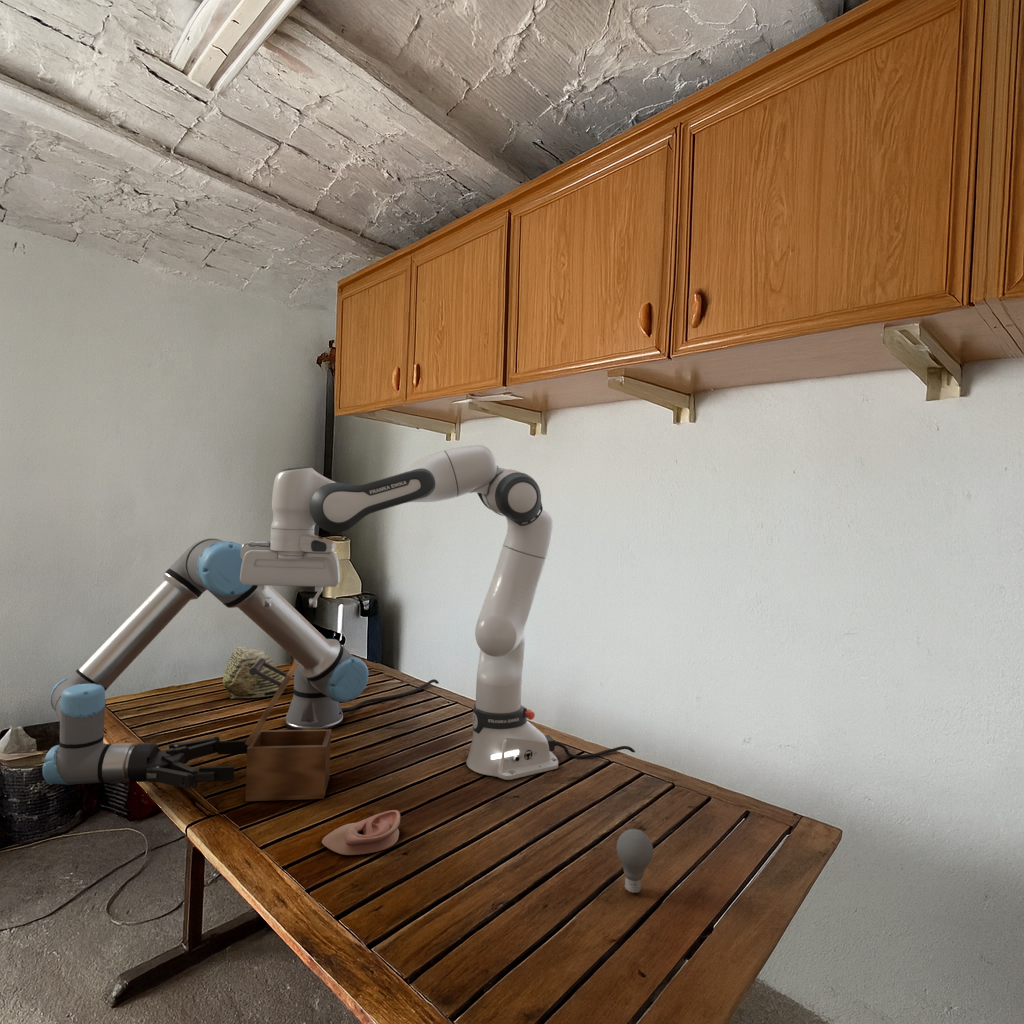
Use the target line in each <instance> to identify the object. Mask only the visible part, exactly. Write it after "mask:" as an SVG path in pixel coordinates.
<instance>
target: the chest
mask: <svg viewBox="0 0 1024 1024" xmlns="http://www.w3.org/2000/svg"><path fill="white" fill-rule="evenodd" d="M331 743H332V729H316V730H292V729H269V730H268V729H263V730H261V729H260V731H259V732H258V734H257V736H256V737H255V739H254V741H253V742H252V744H251V746H249V747H248V748H247V754H246V774H245V799H244V801H245V802H265V801H266V802H268V801H269V802H271V801H295V800H297V801H298V800H324V799H325V798H326V797H325V796H326V792H327V788H328V784H329V781H330V775H331V774H330V772H331V771H330V770H331V748H332V744H331Z"/></svg>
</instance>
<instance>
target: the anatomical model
mask: <svg viewBox="0 0 1024 1024" xmlns="http://www.w3.org/2000/svg"><path fill="white" fill-rule="evenodd" d="M400 823H401V813H400V811H399V810H397V809H392V810H391V809H390V810H387V811H383V812H380V813H377V814H373V815H371V816H369V817H367V818H365V819H362V820H360V821H356V822H349V823H346V824H344V825H341V826H339V827H337V828H335V829H334V830H332V831H331V832H329V833H328V834H326V835H325V836H324V837H323V838H322V840H321V844H322V845H323V846H324V847H325V848H327V849H328V850H330V851H332V852H334V853H337V854H339V855H342V856H356V855H357V856H358V855H366V854H371V853H378V852H382V851H383V850H386V849H388V848H390V847H392V846H394V845H395V844H396V843H397V842H398V840H399V836H400V830H399V827H400Z"/></svg>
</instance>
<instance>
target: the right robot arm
mask: <svg viewBox="0 0 1024 1024" xmlns="http://www.w3.org/2000/svg"><path fill="white" fill-rule="evenodd" d="M473 493H474V494H475V493H476V494H477V495H478V497H479V499H480V501H481V502H482V504H483V505H484V506H485V507H486V508H487V509H488V510H490V511H492V512H493V513H494V514H496V515H499V516H502V517H505V519H506V521H507V522H506V523H507V530H506V535H505V538H504V539H503V540H504V541H503V543H502V547H501V550H500V552H499V556H498V560H497V563H496V567H495V570H494V573H493V576H492V579H491V581H490V584H489V587H488V590H487V592H486V595H485V598H484V600H483V604H482V606H481V609H480V613H479V615H478V618H477V621H476V625H475V628H474V637H475V641H476V645H477V646H478V648H479V655H478V662H477V669H476V686H475V703H474V705H473V710H472V719H471V720H472V721H471V722H472V723H471V724H472V729H473V731H472V737H471V743H470V748H469V751H468V755H467V758H466V760H465V763H466V764H465V765H466V766H467V767H468V768H469V769H470V770H471V771H473V772H474V773H478V774H480V775H485V776H491V777H495V778H496V777H497V778H499V779H502V780H506V781H511V780H515V779H520V778H524V777H528V776H532V775H537V774H540V773H545V772H549V771H553V770H557V769H558V768H559V759H558V758H557V756H556V755H555V754H554V753H553V752H555V748H556V746H557V747H560V748H562V749H563V750H564V753H565V755H567V757H570V758H572V759H588V758H595V757H600V756H603V755H605V754H609V753H614V752H617V751H623V750H628V751H629V752H631V753H636V750H635V749H634V748H633V747H631V746H628V745H620V746H617V747H614V748H608V749H605V750H601V751H599V752H595V753H587V754H574V753H571V752H570V751H569V749H568V747H567V746H566V745H565V744H563V743H561V742H558V741H556V740H555V739H554V738H553V737H551V735H549V734H544V733H543V732H542V731H541V730H539V728H537V727H536V726H534V724H532V723H531V722H530V720H531V721H532V720H534V718H535V716H536V715H535V712H534V711H532V710H531V709H528V708H527V707H525V706H524V705H522V685H523V669H524V659H525V658H524V657H525V646H526V645H525V644H526V631H527V630H526V629H527V622H528V619H529V615H530V612H531V609H532V606H533V603H534V601H535V597H536V594H537V591H538V588H539V584H540V581H541V577H542V574H543V571H544V568H545V565H546V561H547V558H548V554H549V552H550V547H551V543H552V537H553V531H554V529H553V528H554V520H553V517H552V515H551V514H550V513H549V512H548V511H546V509H544V508H543V503H542V502H543V501H542V492H541V489H540V486H539V484H538V483H537V481H536V480H535V479H534V478H533V477H532V476H531V475H529V474H527V473H525V472H521V471H520V470H516V469H512V468H511V469H510V468H509V469H507V468H502V467H499V465H498V463H497V460H496V457H495V455H494V453H493V452H492V451H491V449H490V448H488V447H487V446H485V445H481V444H476V445H475V444H474V445H465V446H464V445H463V446H459V447H452V448H447V449H444V450H440V451H437V452H434V453H431V454H429V455H427V456H424V457H422V458H420V459H418V460H416V461H414V462H413V463H412V464H411V465H410V466H409V467H407V468H406V469H404V470H403V471H401V472H399V473H396V474H393V475H390V476H387V477H383V478H380V479H376V480H372V481H369V482H365V483H360V484H349V483H344V482H336V481H334V480H332V479H330V478H328V477H326V476H324V475H322V474H321V473H319V472H318V471H316V470H315V469H314V468H313V467H311V466H296V467H288V468H284V469H282V470H280V471H279V472H278V473H277V474H276V475H275V478H274V481H273V486H272V495H271V511H272V517H273V518H272V522H271V525H270V540H269V541H268V540H267V541H265V540H264V541H263V540H261V541H256V540H249V541H248V542H245V543H244V544H242V547H241V554H240V556H241V559H242V566H241V572H240V581H241V583H242V584H243V585H258V587H257V591H258V592H259V594H260V596H261V598H263V603H262V606H263V607H270V606H271V597H267V595H266V593H265V591H264V590H265V589H266V585H270V586H272V587H273V586H277V587H314V592H315V595H314V597H310V598H309V599H308V603H309V604H308V608H317V607H318V598H319V597H320V596H321V594H322V592H323V590H324V587H326V588H327V587H328V588H335V587H337V586H338V585H339V584H340V581H341V569H340V567H341V566H340V561H339V556H338V554H337V553H335V552H334V551H335V549H336V542H334V541H333V540H331V539H328V538H325V537H323V536H319V535H316V534H315V527H316V525H317V527H319V528H320V529H322V530H324V531H325V532H329V533H343V532H346V531H348V530H350V529H351V528H353V527H354V526H355V525H357V524H358V523H359V522H360V521H361V520H362V519H364V518H365V517H366V516H369V515H371V514H373V513H376V512H380V511H384V510H386V509H387V510H388V509H390V508H393V507H396V506H399V505H404V504H408V503H435V502H436V503H437V502H441V501H447V500H451V499H455V498H459V497H461V496H464V495H467V494H473Z"/></svg>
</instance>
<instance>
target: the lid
mask: <svg viewBox="0 0 1024 1024" xmlns="http://www.w3.org/2000/svg"><path fill="white" fill-rule="evenodd" d="M263 666H264V667H266V668H268V669H270V670H272V671H274V672H276V673H278V674H280V675H282V676H284V677H285V678H284V680H283V682H282V683H281V682H279V681H277V680H275V679H274V678H272V677H270V676H268V675H266V674H264V673H262V672H260V671H259V670H260V669H261V668H262V667H263ZM298 666H299V664H297V663H295V662H294V663H293V664H292V665H291V667H290V668H289V670H288V672H285V671H284V670H281V669H279V668H278V667H276V668H275V667H274V666H272V665H270V664H268V663H266V662H265V659H263V658H260V659H259V660H258V661H257V662H256V663H255V664H254V665H253V666H252V668H251V669H250V670H249V673H250V674H251V675H258V676H260V677H262V678H264V679H266V680H268V681H270V682H272V683H274V684H276V685H278V686H280V687H279V688H278V690H277V692H276V693H275V695H273V697H272V698H271V700H270V701H269V703H268V705H267V707H265V709H264V711H263V713H262V715H261V716H260V718H259V720H258V721H257V723H256V725H255V727H254V728H253V729H252V731H251V733H250V734H249V736H248V738H247V741H246V743H245V744H246V745H248V746H251V744H252V742H253V741H254V739H255V737H256V736H257V734H258V732H259V731H260V730H261V729H262V727H263V726H264V724H265V723H266V721H267V719H268V717H269V716H270V714H271V712H272V711H273V709H274V707H275V705H276V704H277V703H278V701H279V699H280V697H281V696H282V694H283V693H284V692H285V691H284V689H285V687H286V686H287V687H288V684H289V683H290V681H291V679H292V678H293V677H294V672H295V671H296V669H297V667H298ZM277 668H278V669H277ZM287 687H286V688H287ZM283 691H284V692H283ZM282 692H283V693H282Z"/></svg>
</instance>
